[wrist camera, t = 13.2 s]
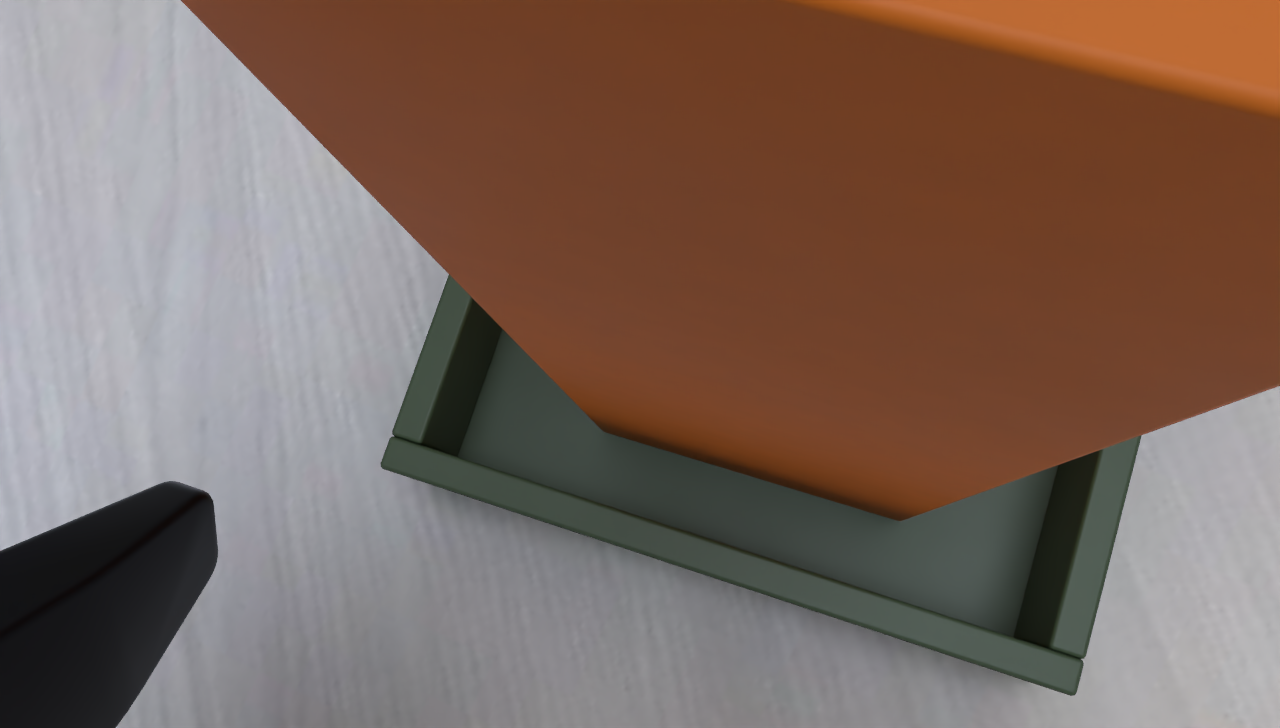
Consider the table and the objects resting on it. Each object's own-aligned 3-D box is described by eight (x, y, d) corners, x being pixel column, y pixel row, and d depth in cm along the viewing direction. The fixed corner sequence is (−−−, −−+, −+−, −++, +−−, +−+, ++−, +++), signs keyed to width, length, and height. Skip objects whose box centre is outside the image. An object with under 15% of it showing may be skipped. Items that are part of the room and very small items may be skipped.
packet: (902, 522, 21) (1762, 225, 3) (600, 431, 22) (-26, -199, 4) (969, 275, 22) (1962, -1062, 4) (675, 196, 22) (420, -1188, 5)
